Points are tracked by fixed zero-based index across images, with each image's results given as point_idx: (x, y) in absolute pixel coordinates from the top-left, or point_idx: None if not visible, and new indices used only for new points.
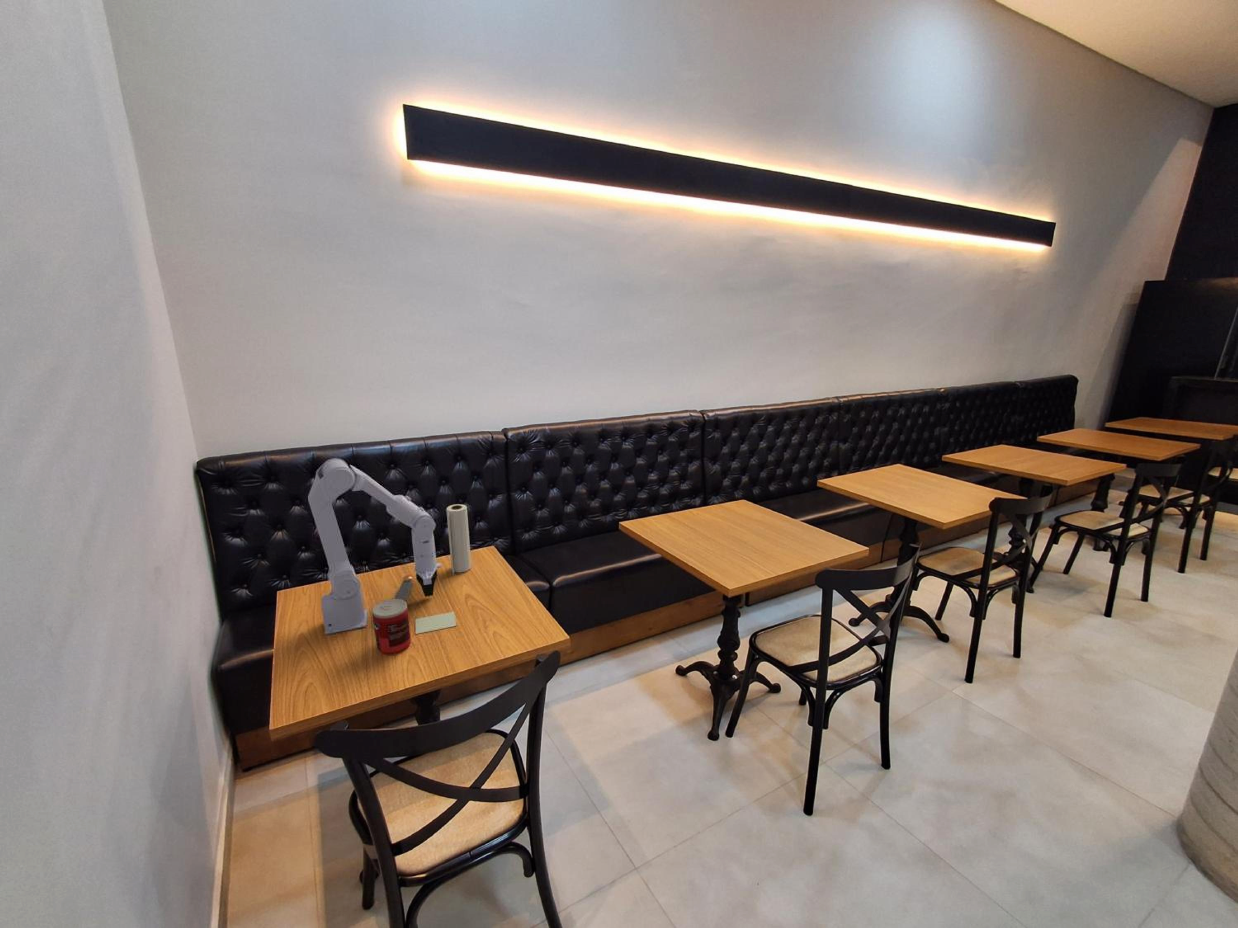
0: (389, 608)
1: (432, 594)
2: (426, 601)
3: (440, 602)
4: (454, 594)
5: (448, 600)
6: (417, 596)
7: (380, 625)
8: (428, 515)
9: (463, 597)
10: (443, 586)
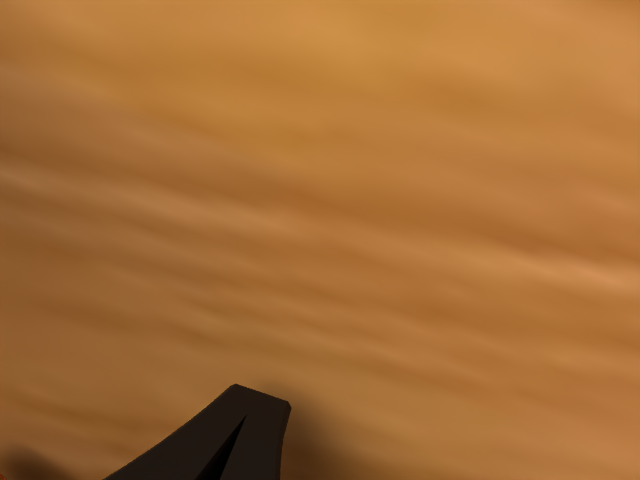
0: None
1: (288, 414)
2: (318, 441)
3: (447, 342)
4: (358, 112)
5: (469, 244)
6: None
7: None
8: None
9: (548, 15)
10: (71, 163)
